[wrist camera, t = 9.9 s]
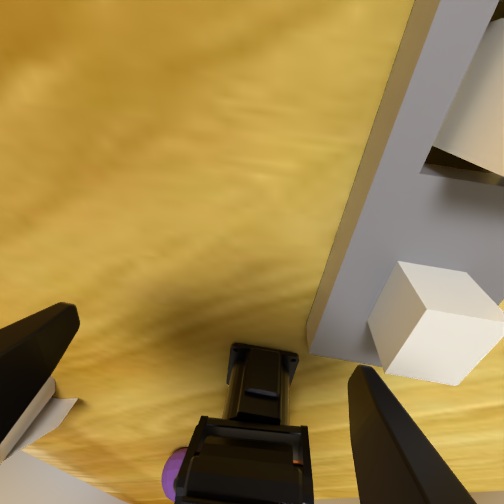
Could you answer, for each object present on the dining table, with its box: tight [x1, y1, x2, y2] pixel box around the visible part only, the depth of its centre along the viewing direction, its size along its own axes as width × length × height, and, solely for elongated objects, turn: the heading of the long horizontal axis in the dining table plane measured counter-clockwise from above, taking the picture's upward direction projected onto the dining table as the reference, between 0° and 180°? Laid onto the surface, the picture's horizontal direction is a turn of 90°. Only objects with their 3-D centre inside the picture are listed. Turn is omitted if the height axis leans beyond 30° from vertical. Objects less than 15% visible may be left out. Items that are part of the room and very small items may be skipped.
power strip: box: [306, 0, 504, 386], centre depth 13 cm, size 26×10×7 cm, turn 173°
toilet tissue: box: [0, 376, 78, 464], centre depth 30 cm, size 9×13×9 cm
